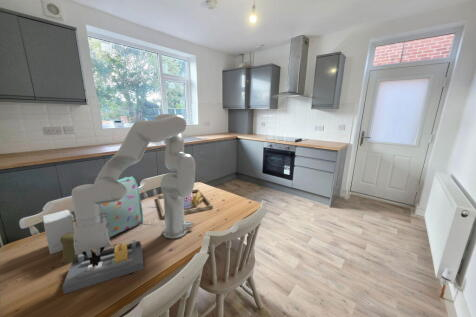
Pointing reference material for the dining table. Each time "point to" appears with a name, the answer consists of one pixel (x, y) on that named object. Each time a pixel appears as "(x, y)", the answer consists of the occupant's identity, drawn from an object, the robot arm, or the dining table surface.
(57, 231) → the supplement box
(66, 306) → the dining table surface
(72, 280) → the grey slider switch base
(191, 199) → the spice collection
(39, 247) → the dining table surface
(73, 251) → the cork
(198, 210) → the tray
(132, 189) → the lunch bag
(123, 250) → the breaker toggle
